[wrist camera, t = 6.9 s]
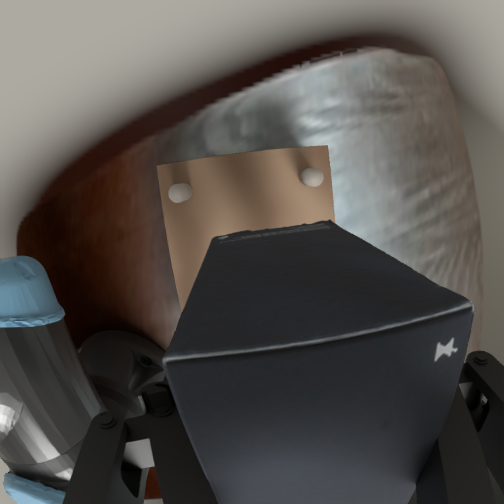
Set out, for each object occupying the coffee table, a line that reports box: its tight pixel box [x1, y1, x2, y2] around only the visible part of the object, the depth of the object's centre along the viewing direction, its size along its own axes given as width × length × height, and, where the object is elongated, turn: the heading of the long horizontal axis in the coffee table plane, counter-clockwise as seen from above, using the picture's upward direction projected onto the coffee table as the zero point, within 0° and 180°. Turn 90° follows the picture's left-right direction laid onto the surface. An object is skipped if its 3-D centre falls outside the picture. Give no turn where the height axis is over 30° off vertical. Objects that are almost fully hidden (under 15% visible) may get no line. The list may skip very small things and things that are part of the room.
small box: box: [162, 219, 475, 504], centre depth 11 cm, size 11×6×10 cm, turn 7°
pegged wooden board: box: [157, 145, 335, 313], centre depth 28 cm, size 14×19×8 cm
